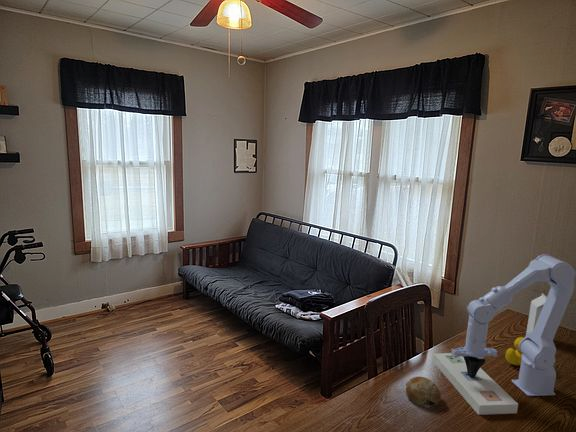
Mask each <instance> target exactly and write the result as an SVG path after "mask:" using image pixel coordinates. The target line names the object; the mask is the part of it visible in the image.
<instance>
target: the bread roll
mask: <svg viewBox="0 0 576 432" xmlns="http://www.w3.org/2000/svg"><path fill="white" fill-rule="evenodd" d="M405 386H406V387H405V394H406V397H407V398H408V400H410V401H411V402H412V403H414V404H415V405H417V406H419V407H423V408H426V409H429V408H431V407H434V406H436V405H439V404H440V402H441V399H442V397H441V390H440V388H439V387H438V386H437V385H436V383H435V382H434V381H432V380H431V379H429V378H428V377H424V376H414V377H412V378H409V380H407V381H406V383H405Z"/></svg>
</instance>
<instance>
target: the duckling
mask: <svg viewBox="0 0 576 432" xmlns="http://www.w3.org/2000/svg"><path fill="white" fill-rule="evenodd" d="M524 338H525V336H524V337H522V336H518V337H517V338H516V339H515V340H514V343H513V346H514V348H515V349H514V348H513V347H509V348H508V349H507V350H506V351H505V360H506V361H507V363H509V364H511V365H513V366H521V360H522V357H521V356H522V353H521V352H520V350H519V343H520V342H521V340H523V339H524Z"/></svg>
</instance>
